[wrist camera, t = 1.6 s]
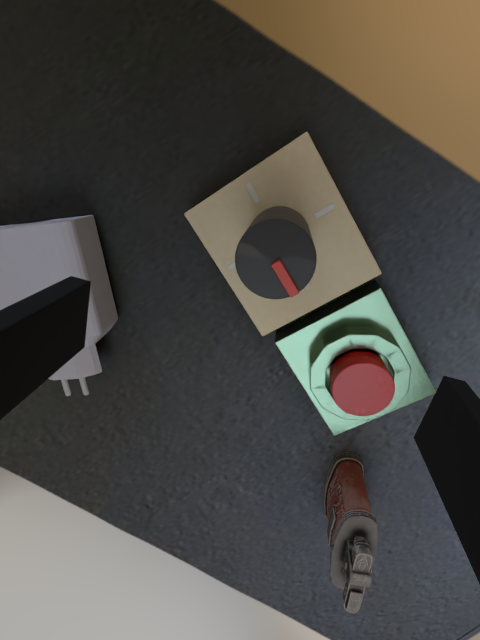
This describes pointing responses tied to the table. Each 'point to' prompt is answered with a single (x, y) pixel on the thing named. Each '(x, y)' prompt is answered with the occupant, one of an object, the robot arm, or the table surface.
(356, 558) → the lighter
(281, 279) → the hob knob
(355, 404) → the button
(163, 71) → the table surface
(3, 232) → the charger
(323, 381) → the box
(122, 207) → the table surface
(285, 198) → the hob panel
